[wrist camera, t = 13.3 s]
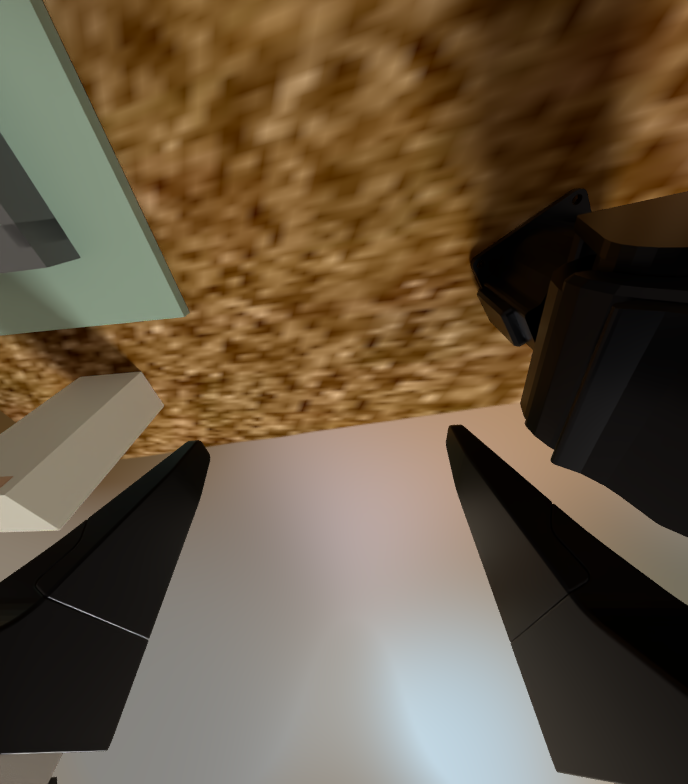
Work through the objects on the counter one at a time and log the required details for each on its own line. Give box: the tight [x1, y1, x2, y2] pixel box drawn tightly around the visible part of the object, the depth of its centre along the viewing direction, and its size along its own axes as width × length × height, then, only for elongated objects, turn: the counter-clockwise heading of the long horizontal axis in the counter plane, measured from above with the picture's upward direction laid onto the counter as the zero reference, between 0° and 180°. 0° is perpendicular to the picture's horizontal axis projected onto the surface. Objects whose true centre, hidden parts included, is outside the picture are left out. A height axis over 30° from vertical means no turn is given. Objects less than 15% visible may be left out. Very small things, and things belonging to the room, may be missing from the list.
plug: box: [0, 372, 164, 532], centre depth 21 cm, size 6×4×12 cm
